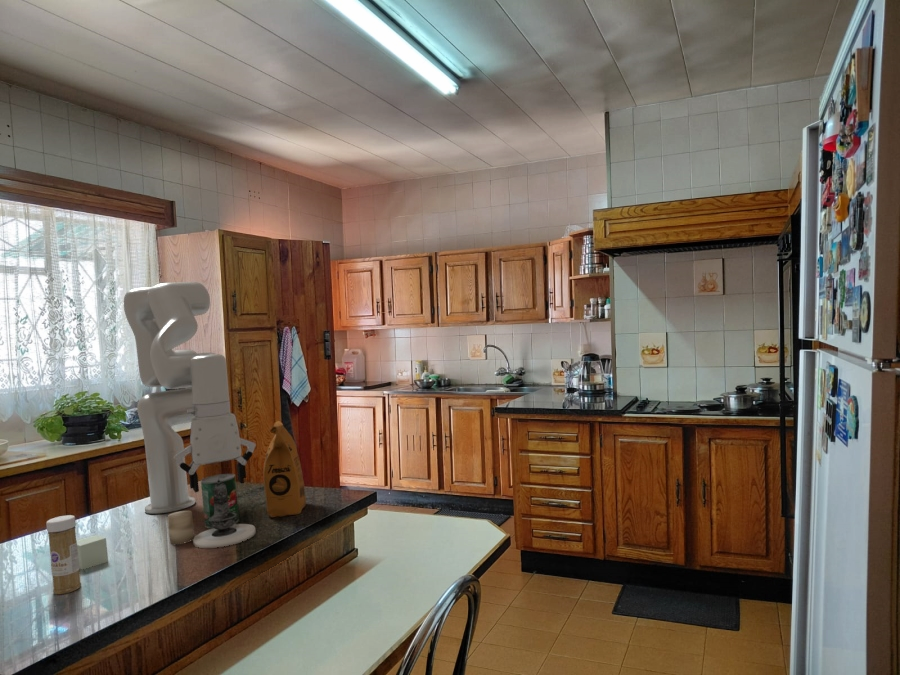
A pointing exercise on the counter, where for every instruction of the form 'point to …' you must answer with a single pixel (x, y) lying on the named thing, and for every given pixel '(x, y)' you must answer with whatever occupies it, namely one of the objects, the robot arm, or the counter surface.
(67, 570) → the sprinkles bottle
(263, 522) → the counter surface
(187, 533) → the beige rounded cylinder
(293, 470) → the coffee package
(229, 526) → the dark grey chess piece
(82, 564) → the sage block
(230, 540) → the plate
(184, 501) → the robot arm
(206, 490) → the canned tomato
